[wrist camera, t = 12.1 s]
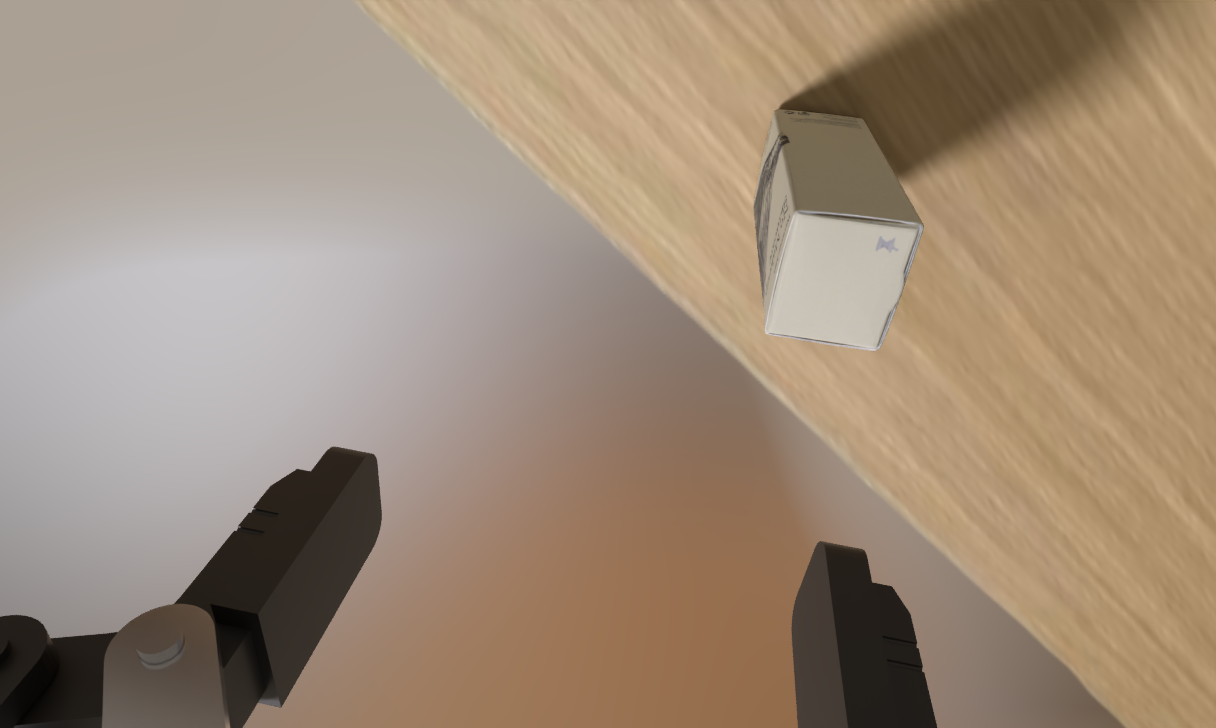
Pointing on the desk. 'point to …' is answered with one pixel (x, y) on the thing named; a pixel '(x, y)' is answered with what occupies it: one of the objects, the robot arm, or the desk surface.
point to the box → (831, 231)
